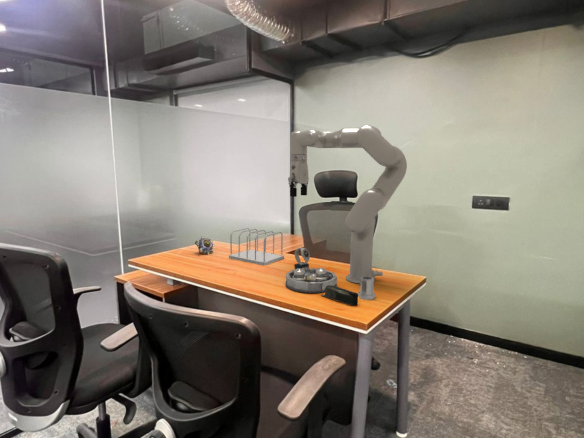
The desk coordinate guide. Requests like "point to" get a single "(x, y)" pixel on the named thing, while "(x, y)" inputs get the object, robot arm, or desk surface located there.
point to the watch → (305, 255)
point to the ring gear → (311, 285)
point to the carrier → (309, 279)
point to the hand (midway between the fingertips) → (298, 195)
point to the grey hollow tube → (366, 288)
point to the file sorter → (254, 255)
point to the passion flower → (205, 245)
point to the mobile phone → (341, 295)
